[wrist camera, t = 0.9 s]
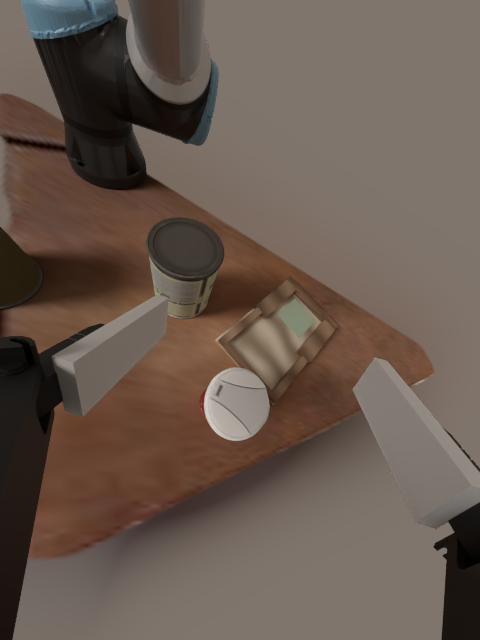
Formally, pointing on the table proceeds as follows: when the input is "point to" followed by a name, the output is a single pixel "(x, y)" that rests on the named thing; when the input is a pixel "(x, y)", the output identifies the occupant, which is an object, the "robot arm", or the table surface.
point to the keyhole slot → (276, 339)
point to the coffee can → (184, 264)
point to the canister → (16, 273)
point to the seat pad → (296, 318)
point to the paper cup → (235, 404)
